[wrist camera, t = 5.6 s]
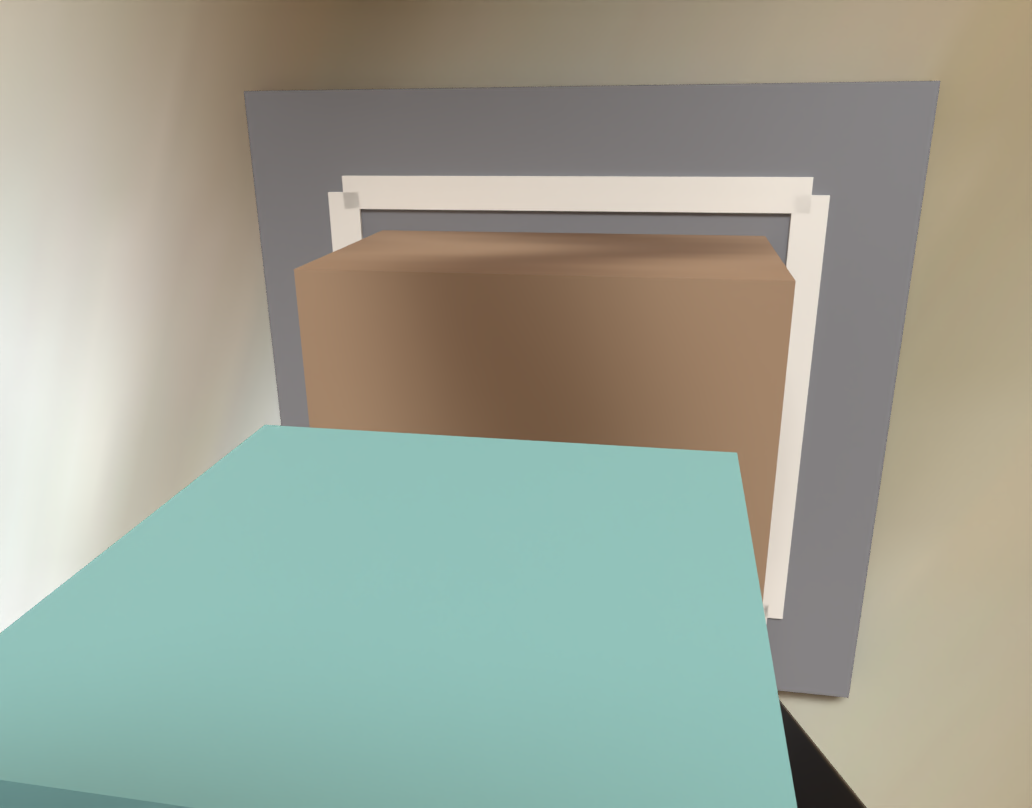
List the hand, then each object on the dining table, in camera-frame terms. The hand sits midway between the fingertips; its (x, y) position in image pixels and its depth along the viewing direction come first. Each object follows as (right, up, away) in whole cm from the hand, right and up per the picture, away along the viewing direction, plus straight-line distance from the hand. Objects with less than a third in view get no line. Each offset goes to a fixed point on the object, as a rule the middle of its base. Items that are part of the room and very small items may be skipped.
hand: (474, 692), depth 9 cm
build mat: (+1, +3, +8) cm, 9 cm away
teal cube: (0, 0, +1) cm, 1 cm away
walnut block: (+1, +3, +8) cm, 9 cm away
